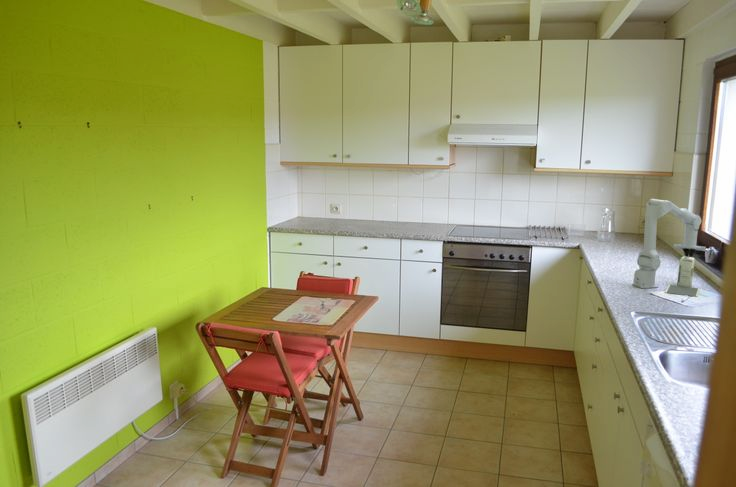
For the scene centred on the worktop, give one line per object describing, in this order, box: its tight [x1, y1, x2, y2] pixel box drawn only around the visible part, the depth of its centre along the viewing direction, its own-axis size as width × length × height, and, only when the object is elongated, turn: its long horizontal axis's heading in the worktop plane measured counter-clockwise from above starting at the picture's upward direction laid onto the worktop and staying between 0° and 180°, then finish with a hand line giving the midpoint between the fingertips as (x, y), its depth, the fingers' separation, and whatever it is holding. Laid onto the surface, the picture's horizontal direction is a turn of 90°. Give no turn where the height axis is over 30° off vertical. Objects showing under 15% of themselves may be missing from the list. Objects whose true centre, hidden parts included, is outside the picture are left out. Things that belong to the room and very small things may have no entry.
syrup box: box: [676, 256, 696, 287], centre depth 298 cm, size 6×6×14 cm
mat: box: [664, 284, 701, 298], centre depth 289 cm, size 18×14×1 cm
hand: (688, 263), depth 306 cm, fingers closed
